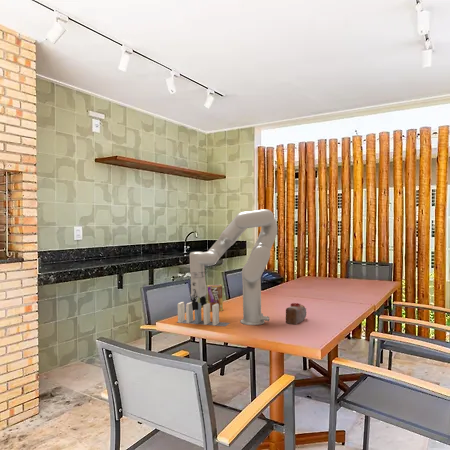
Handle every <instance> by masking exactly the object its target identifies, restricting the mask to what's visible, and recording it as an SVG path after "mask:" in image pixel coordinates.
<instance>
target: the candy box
mask: <svg viewBox="0 0 450 450" xmlns="http://www.w3.org/2000/svg"><path fill="white" fill-rule="evenodd" d="M206 289H207V303H210V312H212V305H214V304H219V312H220V311H221V312H223V311H224V304H223V303H224V302H223V285H222V284H208V285H207V284H206Z"/></svg>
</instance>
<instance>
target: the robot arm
mask: <svg viewBox="0 0 450 450" xmlns="http://www.w3.org/2000/svg"><path fill="white" fill-rule="evenodd" d="M253 228H260V232H259V235H258V236H257V239H256V241H255V243H254V245H253V247H252V248H251V251H250V254H249V257H248V258H247V261H246V263H245V264H244V265H243V266H242V270H241V274H242V275H241V277H242V310H243V311H242V314H243V316H242V317H243V318H242V319H241V320H240V324H242V325H246V326H261V325H263V324H265V322H266V321H267V322H269V321H270V316H266V315H264V313H263V312H262V286H261V285H262V283H261V282H262V281H261V280H262V279H261V277H262V275H263V273H264V271H265V269H266V267H267V265H268V262H269V261H270V258H271V249H272V247H273V244H274V243H275V240H276V238H277V235H278V223H277V220H276V219H275V214H274V213H273V212H272V211H271V210H270V209H268V208H267V209H266V208H265V209H257V210H249V211H240V212H238V213H237V214H236V215H235V217H234V218H233V219H232V221H231V222H230V223H229V224H228V225H227V227H225V229H223V230H222V232H221V233H220V235H219V237H218V238H217V240H216V241H215V242H214V243H213V244H212V245H211V247H210V248H209V249H208V250H207V251H204V252H203V251H190V253H189V270H190V272H189V273H190V274H189V275H190V279H191V280H190V282H191V283H190V294H189V295H190V300H191V302H192V309H193V311H195V310H198V303H201V307H202V306H203V305H204V304H207V299H206V298H207V295H208V290H207V281H206V277H205V276H206V274H205V272H206V271H205V266H214V265H215V264H217V262H218V261H219V259H221V257H222V256H223V255H224V254H225V253H226V251H228V249H230V248H231V246H233V245H234V244H235V243H236V242H237V240H239V238H240V237H241V236H242V235H243V233H245V231H246V230H248V229H253Z"/></svg>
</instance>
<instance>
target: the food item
mask: <svg viewBox="0 0 450 450" xmlns="http://www.w3.org/2000/svg"><path fill="white" fill-rule="evenodd" d="M306 317H307V308H306V306H305V305H303V304H302V303H298V302H296V303H295V302H293V303H290V306H289V307H286V308H285V324H287V325H294V326H295V325H298V324H299V323H303V321H304V320H305V319H306Z"/></svg>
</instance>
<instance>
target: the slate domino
mask: <svg viewBox="0 0 450 450" xmlns="http://www.w3.org/2000/svg"><path fill="white" fill-rule="evenodd" d="M202 317H203V316H202V306H201V303H200V302H198V310H194V320H195V324H194V325H199V324H198V323H200V322H202V321H203V318H202Z"/></svg>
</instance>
